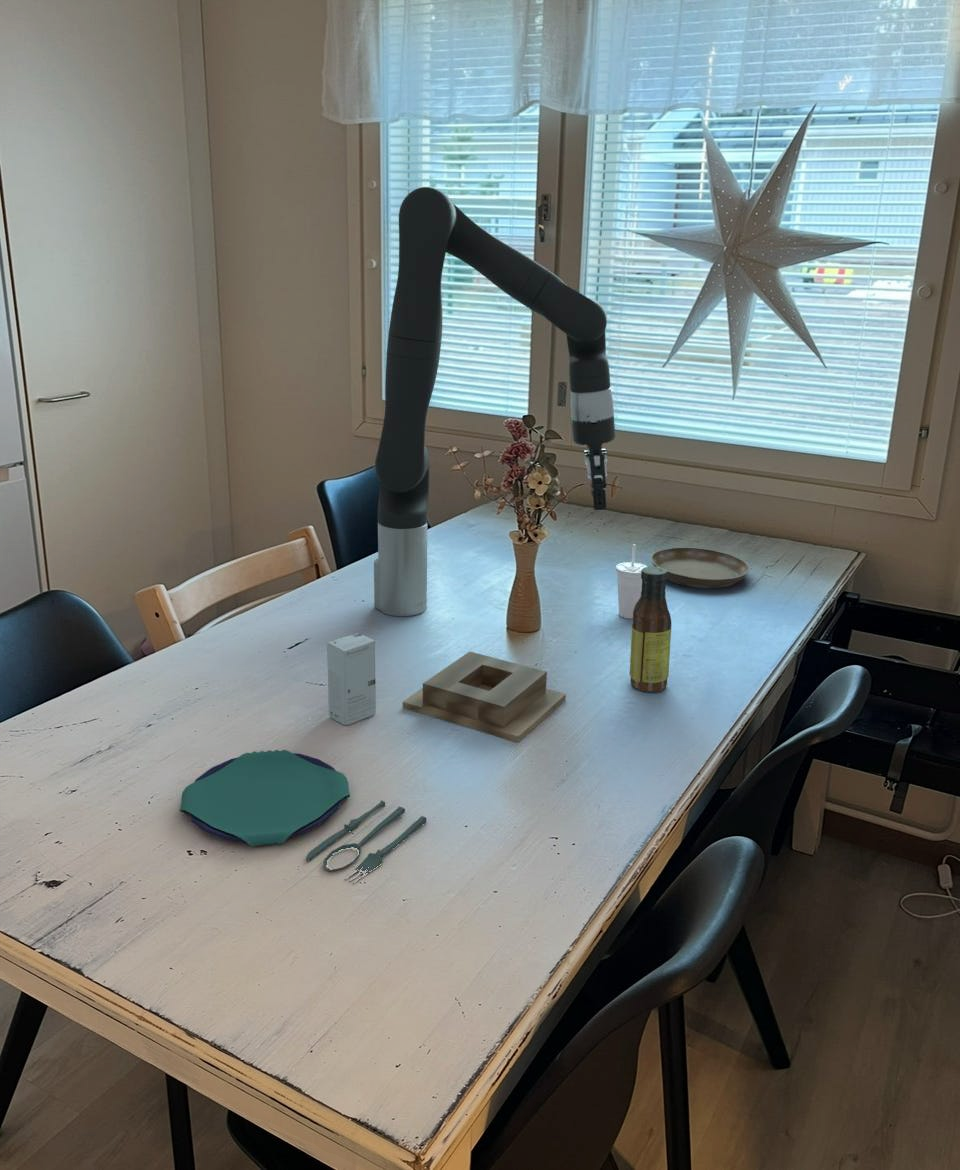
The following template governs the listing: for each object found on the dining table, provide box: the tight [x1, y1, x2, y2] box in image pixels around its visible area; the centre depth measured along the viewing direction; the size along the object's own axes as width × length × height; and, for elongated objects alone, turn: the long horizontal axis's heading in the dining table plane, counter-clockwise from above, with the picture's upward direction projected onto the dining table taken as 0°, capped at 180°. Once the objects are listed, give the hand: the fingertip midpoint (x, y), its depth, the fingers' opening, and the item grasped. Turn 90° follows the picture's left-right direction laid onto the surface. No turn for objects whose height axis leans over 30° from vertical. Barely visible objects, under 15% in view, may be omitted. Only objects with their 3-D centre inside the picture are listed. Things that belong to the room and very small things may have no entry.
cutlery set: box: [179, 749, 427, 874], centre depth 123 cm, size 20×30×2 cm, turn 57°
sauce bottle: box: [629, 566, 672, 693], centre depth 157 cm, size 7×6×20 cm
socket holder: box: [402, 651, 567, 743], centre depth 152 cm, size 20×16×4 cm
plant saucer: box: [650, 546, 750, 589], centre depth 211 cm, size 21×21×3 cm
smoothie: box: [615, 543, 649, 620], centre depth 186 cm, size 6×6×14 cm
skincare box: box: [326, 632, 377, 726], centre depth 146 cm, size 6×4×12 cm
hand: (598, 502), depth 180 cm, fingers open, 8 cm apart
